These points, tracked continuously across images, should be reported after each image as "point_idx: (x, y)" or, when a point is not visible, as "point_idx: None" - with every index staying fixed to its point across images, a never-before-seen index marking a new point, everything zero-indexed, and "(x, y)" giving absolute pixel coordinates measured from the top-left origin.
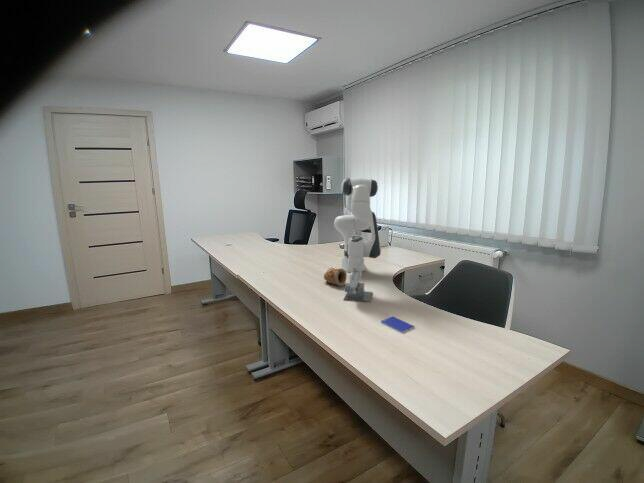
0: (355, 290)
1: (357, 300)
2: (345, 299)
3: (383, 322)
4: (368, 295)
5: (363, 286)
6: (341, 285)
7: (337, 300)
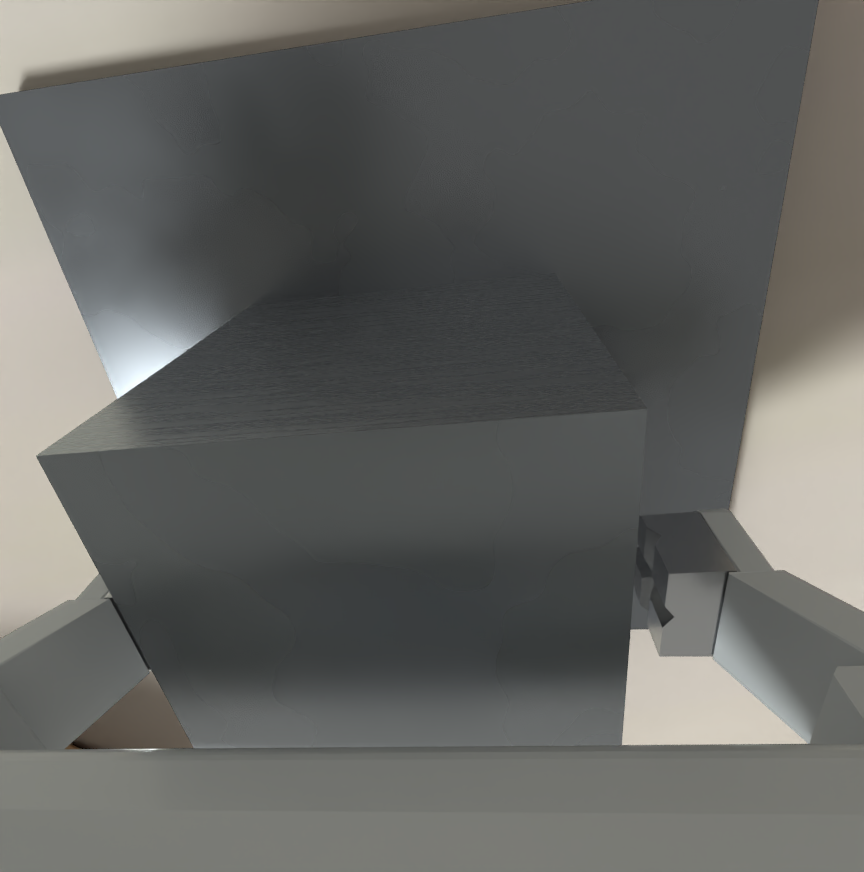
0: (800, 588)
1: (751, 363)
2: None
3: None
4: (319, 154)
5: (417, 406)
6: (67, 746)
7: (724, 681)
